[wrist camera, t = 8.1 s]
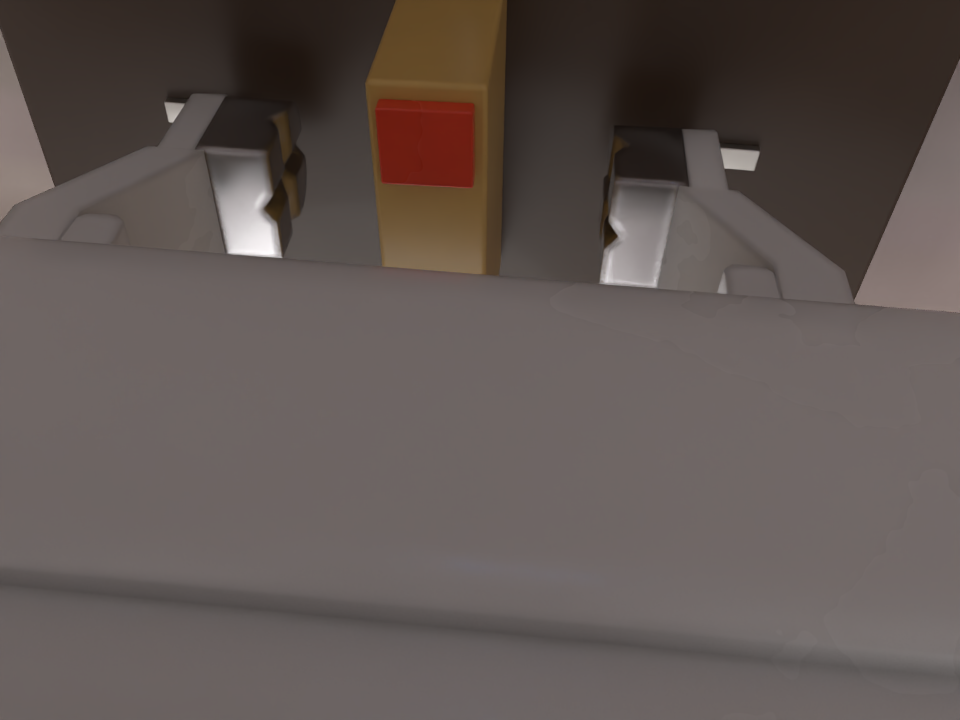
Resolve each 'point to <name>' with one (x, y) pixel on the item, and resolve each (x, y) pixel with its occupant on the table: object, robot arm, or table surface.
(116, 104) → the lock plate
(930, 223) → the table surface
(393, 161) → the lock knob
